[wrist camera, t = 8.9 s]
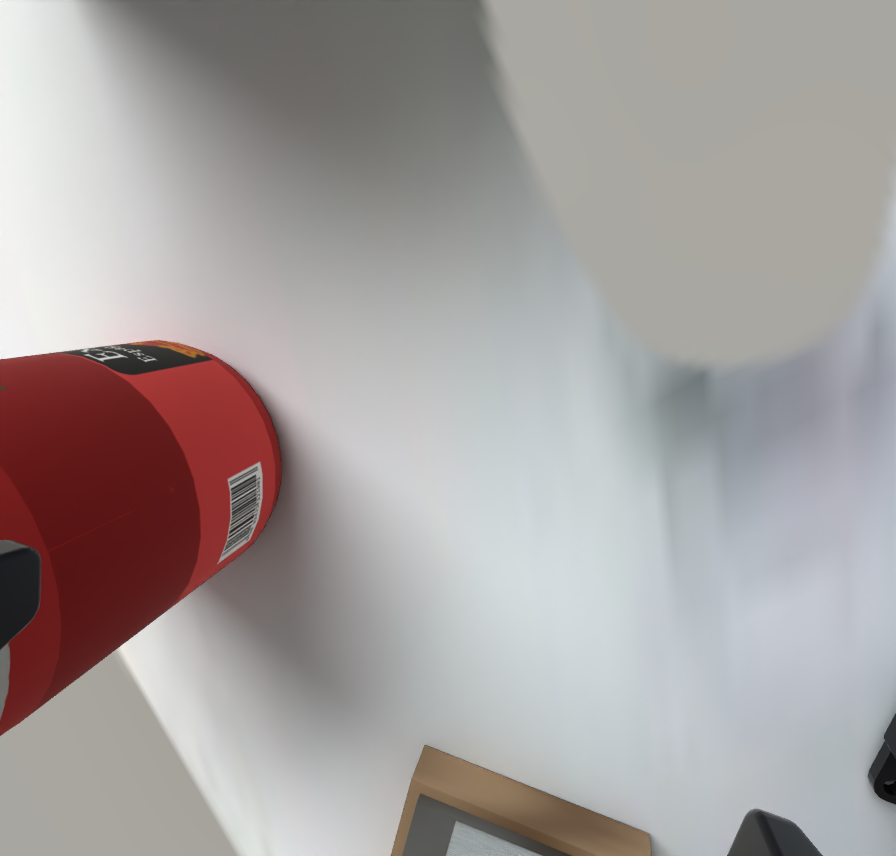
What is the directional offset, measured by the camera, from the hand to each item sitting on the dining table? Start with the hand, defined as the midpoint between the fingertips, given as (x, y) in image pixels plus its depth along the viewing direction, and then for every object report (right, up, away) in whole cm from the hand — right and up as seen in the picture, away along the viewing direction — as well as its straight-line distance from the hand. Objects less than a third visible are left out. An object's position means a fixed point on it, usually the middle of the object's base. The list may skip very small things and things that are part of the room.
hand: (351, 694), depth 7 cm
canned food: (-8, +2, +15) cm, 17 cm away
